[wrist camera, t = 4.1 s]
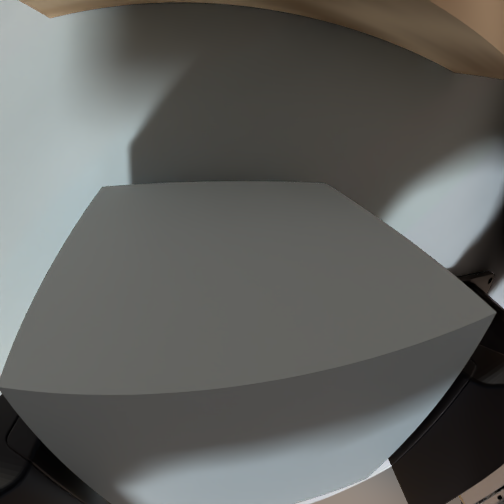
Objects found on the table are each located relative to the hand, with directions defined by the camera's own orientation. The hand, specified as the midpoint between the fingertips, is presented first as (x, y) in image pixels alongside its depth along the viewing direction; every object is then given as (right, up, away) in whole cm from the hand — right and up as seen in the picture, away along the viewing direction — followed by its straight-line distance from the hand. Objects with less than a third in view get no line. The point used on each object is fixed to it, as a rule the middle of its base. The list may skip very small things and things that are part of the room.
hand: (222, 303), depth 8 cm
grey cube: (0, +1, +1) cm, 1 cm away
